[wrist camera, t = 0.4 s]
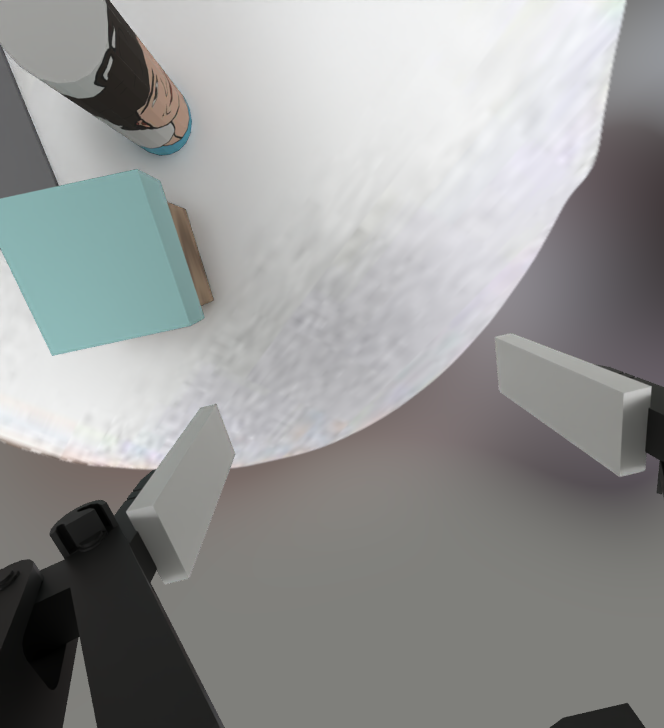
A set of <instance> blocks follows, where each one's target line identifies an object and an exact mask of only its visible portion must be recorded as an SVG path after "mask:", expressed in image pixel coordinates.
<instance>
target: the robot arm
mask: <svg viewBox="0 0 664 728" xmlns="http://www.w3.org/2000/svg"><path fill="white" fill-rule="evenodd" d="M495 347H496V360H497V372H498V385H499V392H501V393H502V394H504V395H505V396H507V397H508V398H509V399H511V400H512V401H513V402H515V403H516V404H518V405H519V406H521V407H522V408H523V409H525V410H526V411H528V412H529V413H531V414H532V415H533V416H535V417H536V418H537V419H539V420H540V421H542V422H543V423H545V424H546V425H547V426H549V427H550V428H552V429H553V430H554V431H556V432H557V433H559V434H560V435H561V436H563V437H565V438H566V439H567V440H568V441H570V442H571V443H573V444H574V445H576V446H577V447H578V448H580V449H581V450H583V451H584V452H585V453H587V454H588V455H590V456H591V457H592V458H594V459H595V460H597V461H598V462H599V463H601V464H602V465H604V466H605V467H607V468H608V469H609V470H611V471H612V472H614V473H615V474H616V475H618V476H619V477H621V476H625V475H630V474H634V473H637V472H642V471H645V465H646V453H649V454H650V455H652V456H654V457H655V458H657V459H659V460H660V463H659V473H658V485H657V493H659V494H662V493H663V496H664V387H662V386H659V385H656V384H654V383H651V382H649V381H646V380H643V379H640V378H638V377H637V378H635V376H632V375H629V374H627V373H625V374H624V373H623V372H621V371H619V370H616V369H613V368H610V367H606V366H600V365H595V364H591V363H588V362H586V361H583V360H581V359H578V358H575V357H573V356H570V355H567V354H565V353H562V352H559V351H557V350H554V349H552V348H549V347H546V346H544V345H541V344H538V343H536V342H533V341H531V340H528V339H525V338H523V337H520V336H517V335H515V334H512V333H509V334H505V335H501V336H498V337H495ZM234 457H235V452H234V449H233V447H232V444H231V441H230V439H229V436H228V433H227V431H226V428H225V425H224V423H223V420H222V417H221V415H220V412H219V409H218V407H217V404H215V405H211V406H206V407H202V408H200V409H199V411H198V412H197V413H196V415H195V416H194V418H193V419H192V420H191V422H190V423H189V425H188V426H187V427H186V429H185V430H184V432H183V433H182V434H181V436H180V437H179V439H178V440H177V441H176V443H175V444H174V445H173V447H172V448H171V450H170V451H169V452H168V454H167V455H166V457H165V458H164V459H163V461H162V462H161V464H160V465H159V466H158V468H157V469H156V470H152V471H151V472H150V473H149V474H148V475H147V476H146V477H144V478H143V479H142V480H141V481H140V482H139V484H138V485H137V486H136V487H135V489H134V490H133V492H132V493H131V494H130V495H129V497H128V498H127V501H125V502H124V503H123V505H122V506H121V507H120V509H119V510H118V511H117V513H116V514H115V515H113V513H112V512H111V510H110V508H109V506H108V504H107V503H106V502H105V501H103V500H98V501H93V502H89V503H87V504H84V505H82V506H80V507H78V508H76V509H74V510H73V511H71V512H69V513H68V514H66V515H65V516H64V517H63V518H61V519H60V520H59V521H58V522H57V523H56V524H55V525H54V526H53V528H52V529H51V531H50V537H51V538H52V540H53V541H54V543H55V544H56V546H57V547H58V549H59V551H60V552H61V554H62V555H63V557H64V559H65V560H63V561H60V562H58V563H56V564H54V565H51V566H49V567H47V568H45V569H42V570H41V571H39V569H38V568H37V566H36V565H35V563H34V562H33V561H31V560H21V561H19V562H16V563H13V564H11V565H9V566H7V567H5V568H4V569H1V570H0V728H63V722H64V716H65V711H66V705H67V700H68V694H69V688H70V682H71V677H72V671H73V665H74V659H75V653H76V648H77V642H78V637H80V640H81V646H82V651H83V656H84V661H85V666H86V672H87V676H88V682H89V687H90V692H91V697H92V703H93V707H94V713H95V718H96V723H97V728H225V727H224V726H223V724H222V722H221V719H220V718H219V716H218V714H217V712H216V710H215V708H214V706H213V704H212V702H211V700H210V698H209V696H208V694H207V692H206V690H205V688H204V686H203V684H202V683H201V680H200V678H199V677H198V675H197V673H196V671H195V669H194V667H193V665H192V663H191V661H190V659H189V657H188V655H187V653H186V651H185V649H184V647H183V645H182V643H181V641H180V640H179V637H178V635H177V633H176V631H175V630H174V628H173V626H172V624H171V622H170V620H169V618H168V616H167V614H166V612H165V610H164V608H163V606H162V604H161V602H160V600H159V598H158V596H157V594H156V592H155V591H154V589H153V587H152V585H151V583H150V582H151V580H152V578H153V576H154V574H155V572H156V570H157V572H158V574H159V575H160V577H161V579H162V581H163V583H164V584H169V583H173V582H177V581H181V580H185V579H189V578H190V575H191V572H192V570H193V567H194V564H195V561H196V559H197V556H198V553H199V551H200V548H201V545H202V543H203V540H204V537H205V535H206V532H207V529H208V526H209V524H210V521H211V518H212V516H213V513H214V510H215V508H216V505H217V502H218V500H219V497H220V494H221V492H222V489H223V486H224V483H225V481H226V478H227V475H228V473H229V470H230V467H231V465H232V462H233V459H234ZM550 728H645V727H644V725H643V724H642V722H641V721H640V720H639V718H638V717H637V715H636V714H635V713H634V711H633V710H632V708H631V707H630V706H629V704H628V703H625V704H621V705H617V706H612V707H608V708H603V709H599V710H595V711H591V712H586V713H582V714H577V715H574V716H569V717H565V718H562V719H561V720H560V721H558V722H557V723H556V724H554V725H553V726H551V727H550Z"/></svg>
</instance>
